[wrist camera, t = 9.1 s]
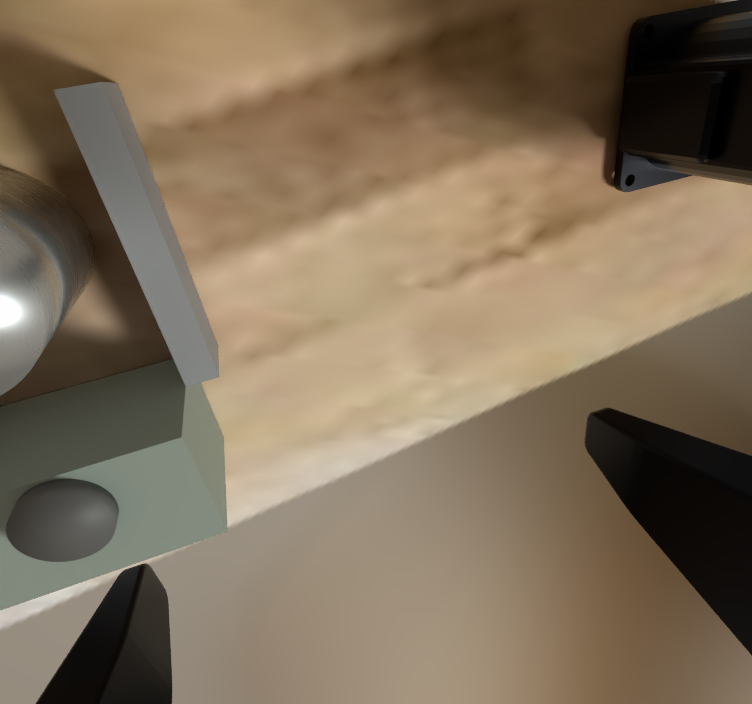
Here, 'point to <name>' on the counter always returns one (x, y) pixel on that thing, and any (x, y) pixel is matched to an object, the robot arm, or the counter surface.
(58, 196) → the bottle
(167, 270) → the grey u-shaped bracket
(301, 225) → the counter surface
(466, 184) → the counter surface
